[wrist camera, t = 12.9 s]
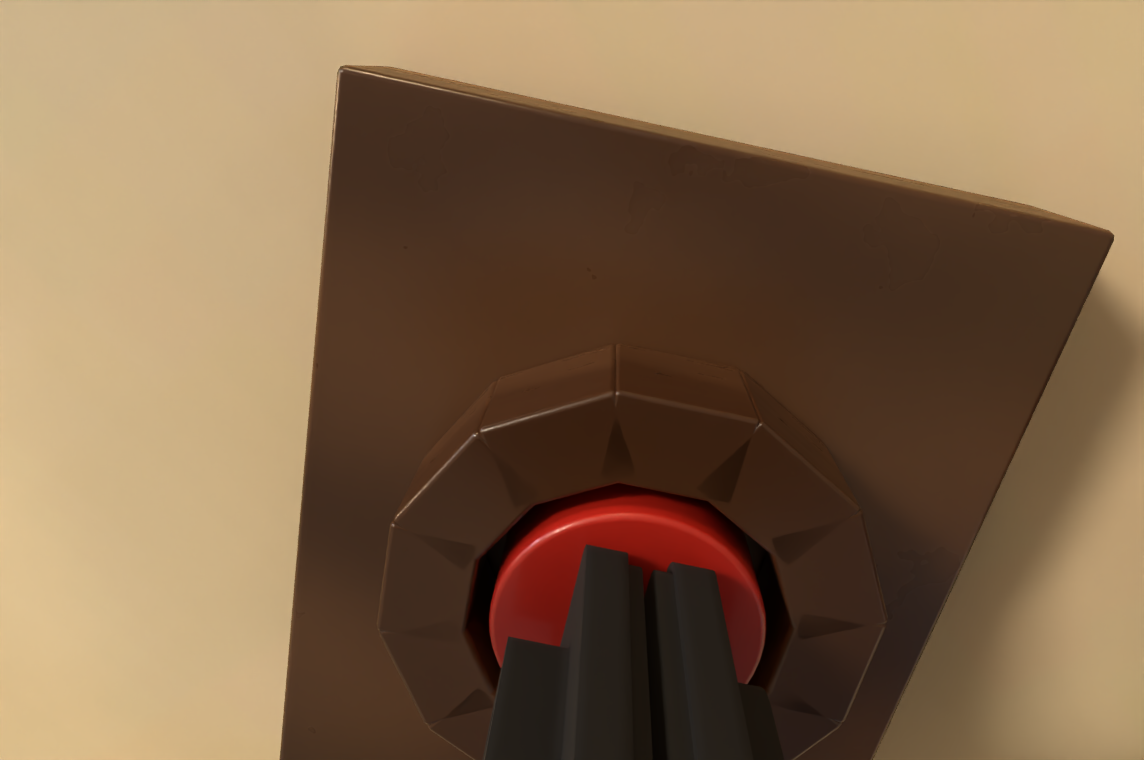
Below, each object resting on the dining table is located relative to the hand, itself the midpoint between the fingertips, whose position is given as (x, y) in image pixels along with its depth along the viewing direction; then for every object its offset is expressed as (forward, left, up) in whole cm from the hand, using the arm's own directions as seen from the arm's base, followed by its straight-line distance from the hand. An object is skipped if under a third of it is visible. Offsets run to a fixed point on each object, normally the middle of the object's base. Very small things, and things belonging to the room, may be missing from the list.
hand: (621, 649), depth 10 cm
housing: (0, 0, -4) cm, 4 cm away
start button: (0, 0, -2) cm, 2 cm away
